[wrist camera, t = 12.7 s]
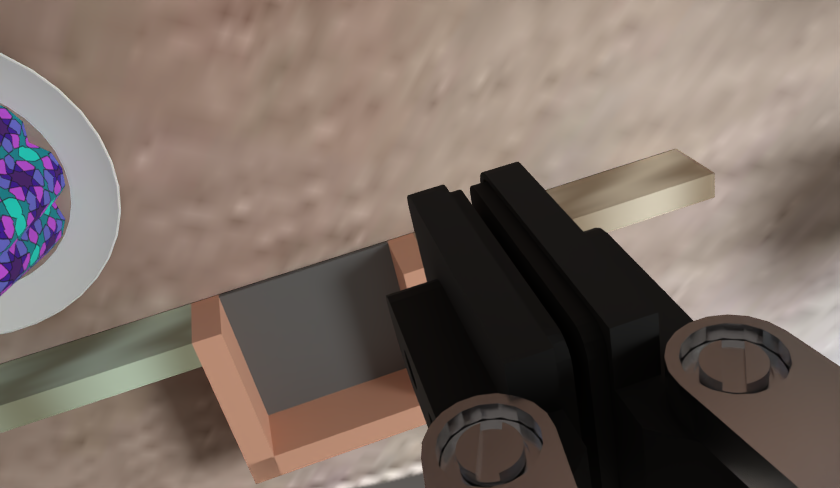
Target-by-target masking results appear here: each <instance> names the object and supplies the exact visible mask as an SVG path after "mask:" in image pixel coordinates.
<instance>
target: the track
mask: <svg viewBox="0 0 840 488" xmlns="http://www.w3.org/2000/svg"><path fill="white" fill-rule="evenodd" d="M546 192H547V193H548V194H549V195H550V196H551V197H552V198H553V199H554V200H555V201H556V202H557V203H558V204H559V206H560V207H561V208H562V209H563V210H564V211H565V212H566V213H567V214H568V215H569V216H570V217H571V219H572V220H573V221H574V222H575V223H576V224H577V225H578V226H579V227H580V228H581V229H582V230H583V231H586V230H590V229H593V228H601V229H603V230H604V231H605V232H607V233H608V232H611V231H614V230H617V229H620V228H623V227H626V226H629V225H632V224H635V223H638V222H641V221H644V220H647V219H650V218H653V217H656V216H659V215H662V214H665V213H668V212H671V211H674V210H677V209H680V208H683V207H686V206H690V205H693V204H696V203H699V202H702V201H705V200H708V199H711V198H714V197H715V173H714V172H712V171H710V170H709V169H707V168H706V167H704V166H703V165H701V164H699V163H698V162H696V161H695V160H693V159H692V158H690V157H689V156H687V155H685V154H684V153H682V152H681V151H679V150H678V149H674V150H671V151H668V152H665V153H662V154H659V155H655V156H652V157H649V158H646V159H643V160H640V161H637V162H633V163H630V164H627V165H624V166H621V167H618V168H615V169H612V170H608V171H605V172H602V173H599V174H596V175H593V176H590V177H586V178H583V179H580V180H577V181H574V182H571V183H568V184H564V185H561V186H558V187H555V188H552V189H549V190H546ZM413 234H414V236H415V238H416V235H415V232H414V233H413ZM416 240H417V239H416ZM199 367H202V365H201V362H200V360H199V358H198V356H197V354H196V352H195V349H194V347H193V345H192V324H191V304H188V305H185V306H182V307H179V308H176V309H172V310H169V311H166V312H163V313H160V314H157V315H154V316H150V317H147V318H144V319H141V320H138V321H135V322H132V323H129V324H125V325H122V326H119V327H116V328H113V329H110V330H107V331H103V332H100V333H97V334H94V335H91V336H88V337H85V338H81V339H78V340H75V341H72V342H69V343H66V344H63V345H60V346H56V347H53V348H50V349H47V350H44V351H41V352H38V353H34V354H31V355H28V356H25V357H22V358H19V359H16V360H12V361H9V362H6V363H3V364H0V433H2V432H5V431H8V430H11V429H14V428H17V427H20V426H23V425H26V424H29V423H33V422H36V421H39V420H42V419H45V418H48V417H51V416H54V415H57V414H60V413H63V412H66V411H69V410H72V409H75V408H78V407H81V406H84V405H87V404H90V403H93V402H96V401H99V400H102V399H105V398H108V397H111V396H114V395H117V394H120V393H123V392H126V391H129V390H132V389H135V388H138V387H142V386H145V385H148V384H151V383H154V382H157V381H160V380H163V379H166V378H169V377H172V376H175V375H178V374H181V373H184V372H187V371H190V370H193V369H196V368H199Z"/></svg>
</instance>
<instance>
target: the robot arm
mask: <svg viewBox="0 0 840 488" xmlns="http://www.w3.org/2000/svg"><path fill="white" fill-rule="evenodd" d="M470 195H471V201H472V204H471V203H470V201H469V200H468V199H467V197H466V196H465V194H464V193H463V191H462V190H457V191H454V192H449V190H448V189H447V187H446V186H445V185H440V186H437V187H433V188H430V189H427V190H424V191H420V192H417V193H414V194H411V195H408V196H407V199H408V206H409V210H410V214H411V218H412V222H413V227H414V231H415V235H416V239H417V243H418V247H419V251H420V255H421V259H422V264H423V268H424V272H425V276H426V280H427V282H425V283H422V284H419V285H416V286H413V287H410V288H407V289H404V290H401V291H397V292H394V293H391V294H388V295H386V300H387V304H388V308H389V312H390V315H391V319H392V323H393V326H394V330H395V333H396V337H397V340H398V343H399V347H400V350H401V353H402V356H403V360H404V363H405V366H406V369H407V372H408V375H409V378H410V381H411V384H412V386H413V389H414V392H415V395H416V397H417V400H418V402H419V405H420V408H421V410H422V413H423V416H424V418H425V421H426V424H427V426H428V430H427V432H426V434H425V436H424V439H423V441H422V452H421V461H422V468H423V475H424V481H425V488H840V366H838V365H837V364H835V363H834V362H832V361H831V360H829V359H828V358H826V357H825V356H823V355H822V354H820V353H819V352H817V351H816V350H814V349H813V348H811V347H810V346H808V345H807V344H805V343H804V342H802V341H801V340H799V339H798V338H796V337H795V336H793V335H792V334H790V333H789V332H787V331H786V330H784V329H782V328H780V327H778V326H776V325H774V324H772V323H770V322H768V321H764V320H761V319H757V318H753V317H749V316H740V315H718V316H709V317H705V318H702V319H699V320H696V321H693V320H692V319H691V318H690V317H689V316H688V315H687V314H686V313H685V312H684V311H683V310H682V309H681V308H680V307H679V306H678V305H677V304H676V303H675V302H674V301H673V300H672V299H671V297H670V296H669V295H668V294H667V293H666V292H665V291H664V290H663V289H662V288H661V287H660V286H659V285H658V284H657V283H656V282H655V281H654V280H653V279H652V278H651V277H650V276H649V275H648V274H647V273H646V272H645V271H644V270H643V269H642V268H641V267H640V266H639V265H638V264H637V263H636V262H635V261H634V260H633V259H632V258H631V257H630V256H629V255H628V254H627V253H626V252H625V251H624V250H623V249H622V247H621V246H620V245H619V244H618V243H617V242H616V241H615V240H614V239H613V238H612V237H611V236H610V235H609V234H608V233H607V232H605V231H604V230H603V229H601V228H593V229H590V230H586V231H583V230H582V229H581V228H580V227H579V226H578V225H577V224H576V223H575V222H574V221H573V220H572V219H571V217H570V216H569V215H568V214H567V213H566V212H565V211H564V210H563V209H562V208H561V207H560V206H559V204H558V203H557V202H556V201H555V200H554V199H553V198H552V197H551V196H550V195H549V194H548V193H547V192H546V190H545V189H544V188H543V187H542V186H541V185H540V184H539V183H538V182H537V181H536V180H535V179H534V178H533V176H532V175H531V174H530V173H529V172H528V171H527V170H526V169H525V168H524V167H523V166H522V165H521V164H520V163H519V162H514V163H511V164H508V165H505V166H501V167H498V168H495V169H492V170H488V171H485V172H482V173H481V175H480V183H479V184H476V185H473V186H471V187H470Z"/></svg>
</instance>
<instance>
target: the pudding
mask: <svg viewBox="0 0 840 488" xmlns="http://www.w3.org/2000/svg"><path fill="white" fill-rule="evenodd" d="M0 103H1V104H3V105H5V106H7V107H9V108H10V109H12V110H13V111H15V112H16V113H18V114H19V115H21V116H22V117H23V118H25V119H26V120H27V121H28V122H29V123H31V124H32V125H33V126H34V127H35V128H36V129H37V130H38V131H39V132H40V133H41V134H42V135H43V136H44V137H45V139H46V140H47V141H48V142H49V144H50V145H51V146H52V148H53V149H54V150H55V152H56V154H57V156H58V157H59V159H60V161H61V163H62V165H63V167H64V169H65V172H66V176H67V179H68V182H69V185H70V194H71V212H70V221H69V224H68V227H67V230H66V233H65V236H64V238H63V239H62V241H61V243H60V244H59V246H58V248H57V250H56V251H55V252H54V253H53V254H52V256H51V257H50V258H49V259H48V260H47V261H46V262H45V263H44V264H43V265H42V266H40V267H39V268H38V269H36V270H35V271H34V272H32V273H31V274H30V275H28V276H26V277H24V278H22V279H20V278H21V277H22V276H23V275H24V274H25V273H26V272H27V271H28V270H29V269H31V268H32V267H33V266H34V265H35V264H36V263H37V262H38V261H39V260H40V259H41V258H42V257H43V256H45V255H46V254H47V253H48V252H49V251H50V250H51V249H52V248H53V247H54V245H55V244H56V243H57V242H58V240H59V239H60V238H61V236H62V234H63V228H64V223H65V218H64V217H63V215H62V213H61V212H60V210H59V208H58V207H57V205H56V204H55V201H56V199H57V198H58V196H59V195H60V193H61V191H62V190H63V188H64V187H65V183H64V177H63V172H62V168H61V166H60V165H59V164H58V162H57V161H56V159H55V158H54V156H53V155H52V153H51V152H49V151H47V150H44V149H42V148H40V147H37V146H35V145H33V144H31V143H29V142H28V139H27V135H26V131H25V128H24V124H23V122H22V121H21V120H20V119H19V118H17V117H16V116H15V115H14V114H13V113H11V112H10V111H9V110H8V109H7V108H5V107H3V106H0V334H5V333H10V332H14V331H17V330H19V329H22V328H25V327H28V326H31V325H34V324H37V323H39V322H41V321H43V320H45V319H47V318H49V317H51V316H52V315H54V314H56V313H58V312H60V311H62V310H63V309H64V308H66V307H67V306H68V305H70V304H71V303H72V302H74V301H75V300H76V299H77V298H79V297H80V296H81V295H82V294H83V293H84V292H85V291H86V290H87V289H88V288H89V286H90V285H91V284H92V283H93V282H94V281H95V280H96V279H97V278H98V276H99V274H100V273H101V271H102V269H103V268H104V266H105V265H106V263H107V261H108V260H109V258H110V255H111V253H112V250H113V247H114V244H115V241H116V239H117V236H118V229H119V222H120V214H121V206H120V192H119V184H118V181H117V177H116V174H115V170H114V166H113V163H112V160H111V158H110V156H109V154H108V152H107V150H106V148H105V146H104V144H103V142H102V140H101V138H100V136H99V134H98V133H97V132H96V130H95V129H94V127H93V126H92V125H91V123H90V122H89V121H88V119H87V118H86V116H85V115H84V114H83V112H82V111H81V110H80V109H79V108H78V107H77V106H76V105H75V104H74V103H73V102H72V101H71V100H70V99H69V98H68V97H67V96H66V95H65V94H64V93H63V92H62V91H61V90H60V89H58V88H57V87H56V86H54V85H53V84H51V83H50V82H49V81H47V80H46V79H45V78H43V77H42V76H40V75H39V74H38V73H36V72H35V71H34V70H32V69H30V68H28V67H26V66H25V65H23V64H21V63H19V62H17V61H15V60H13V59H11V58H9V57H7V56H5V55H4V54H2V53H0ZM19 279H20V280H19Z"/></svg>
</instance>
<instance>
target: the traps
mask: <svg viewBox="0 0 840 488" xmlns="http://www.w3.org/2000/svg"><path fill="white" fill-rule="evenodd" d="M425 282H427V280H426V276H425V272H424V268H423V264H422V259H421V255H420V251H419V247H418V243H417V240H416V238H415V236H414V234H413V233H411V234H408V235H405V236H401V237H398V238H395V239H392V240H389V241H386V242H383V243H379V244H376V245H373V246H370V247H367V248H364V249H361V250H357V251H354V252H351V253H348V254H345V255H342V256H339V257H336V258H332V259H329V260H326V261H323V262H320V263H317V264H314V265H310V266H307V267H304V268H301V269H298V270H295V271H292V272H288V273H285V274H282V275H279V276H276V277H273V278H270V279H267V280H263V281H260V282H257V283H254V284H251V285H248V286H245V287H241V288H238V289H235V290H232V291H229V292H226V293H223V294H219V295H216V296H213V297H210V298H207V299H204V300H201V301H198V302H194V303H191V324H192V345H193V347H194V349H195V352H196V354H197V356H198V358H199V360H200V362H201V365H202V367H203V369H204V371H205V373H206V376H207V378H208V380H209V382H210V384H211V387H212V389H213V391H214V393H215V395H216V397H217V400H218V402H219V404H220V406H221V408H222V411H223V413H224V415H225V417H226V419H227V421H228V424H229V426H230V428H231V430H232V432H233V435H234V437H235V439H236V441H237V443H238V446H239V448H240V450H241V452H242V454H243V456H244V459H245V461H246V463H247V465H248V467H249V470H250V472H251V474H252V476H253V478H254V480H255V483H256V484H258V483H261V482H263V481H266V480H269V479H272V478H275V477H277V476H280V475H283V474H286V473H289V472H292V471H294V470H297V469H300V468H303V467H306V466H309V465H311V464H314V463H317V462H320V461H323V460H326V459H328V458H331V457H334V456H337V455H340V454H342V453H345V452H348V451H351V450H354V449H357V448H359V447H362V446H365V445H368V444H371V443H374V442H376V441H379V440H382V439H385V438H388V437H391V436H393V435H396V434H399V433H402V432H405V431H407V430H410V429H413V428H416V427H419V426H422V425H424V424H426V421H425V418H424V416H423V413H422V410H421V408H420V405H419V402H418V400H417V397H416V395H415V392H414V389H413V386H412V384H411V381H410V378H409V375H408V372H407V369H406V366H405V363H404V360H403V356H402V353H401V350H400V347H399V343H398V340H397V337H396V333H395V330H394V326H393V323H392V319H391V315H390V312H389V308H388V304H387V300H386V295H388V294H391V293H394V292H397V291H401V290H404V289H407V288H410V287H413V286H416V285H419V284H422V283H425Z"/></svg>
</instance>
